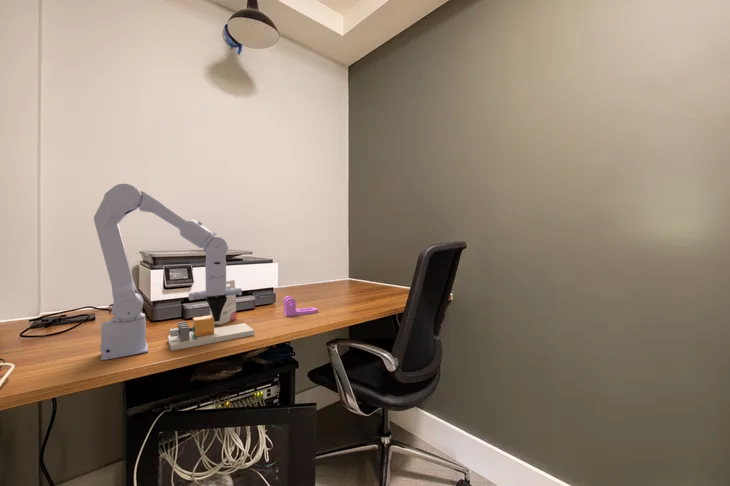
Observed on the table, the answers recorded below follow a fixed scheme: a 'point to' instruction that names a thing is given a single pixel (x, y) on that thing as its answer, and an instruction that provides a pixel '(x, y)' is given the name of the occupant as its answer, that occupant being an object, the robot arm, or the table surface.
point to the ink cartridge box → (228, 306)
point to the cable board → (186, 338)
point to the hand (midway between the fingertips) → (216, 320)
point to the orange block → (203, 325)
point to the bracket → (291, 308)
